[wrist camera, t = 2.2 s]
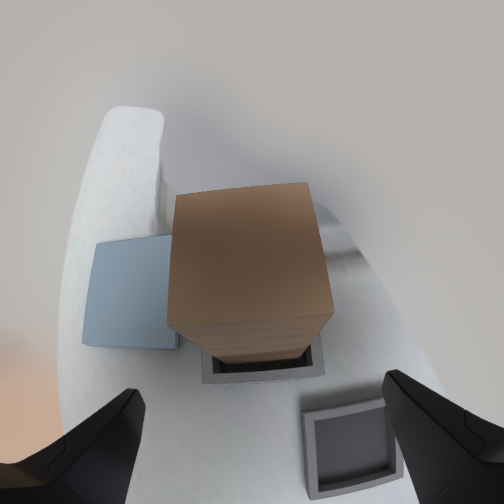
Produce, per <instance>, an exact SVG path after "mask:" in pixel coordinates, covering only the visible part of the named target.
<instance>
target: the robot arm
mask: <svg viewBox="0 0 504 504" xmlns="http://www.w3.org/2000/svg"><path fill="white" fill-rule="evenodd" d="M382 393H383V397H384V401H385V404H386V408H387V412H388V415H389V419H390V423H391V426H392V429H393V431H394V434H395V437H396V439H397V442H398V444H399V447H400V450H401V452H402V455H403V457H404V460H405V463H406V466H407V468H408V471H409V474H410V477H411V480H412V483H413V486H414V488H415V491H416V494H417V497H418V500H419V504H504V428H503V427H500V426H498V425H495V424H493V423H491V422H488V421H486V420H484V419H481V418H480V417H478V416H476V415H474V414H472V413H470V412H469V411H467V410H464V409H463V408H462V407H460V406H458V405H457V404H455V403H453V402H451V401H450V400H448V399H446V398H445V397H443V396H441V395H439V394H438V393H436V392H434V391H433V390H431V389H429V388H428V387H426V386H424V385H423V384H421V383H419V382H417V381H416V380H414V379H412V378H411V377H409V376H408V375H406V374H404V373H403V372H401V371H399V370H397V369H395V370H390V371H387V372H386V374H385V378H384V382H383V385H382ZM145 409H146V407H145V403H144V401H143V398H142V396H141V394H140V392H139V391H138V390H137V389H131V388H128V389H126V390H125V391H123V392H122V393H121V394H119V395H118V396H117V397H115V398H114V399H113V400H111V401H110V402H109V403H107V404H106V405H105V406H103V407H102V408H101V409H99V410H98V411H97V412H95V413H94V414H93V415H91V416H90V417H89V418H87V419H86V420H84V421H83V422H82V423H80V424H79V425H78V426H76V427H75V428H73V429H72V430H71V431H69V432H68V433H67V434H66V435H64V436H62V437H61V438H59V439H58V440H57V441H55V442H54V443H52V444H51V445H49V446H47V447H46V448H44V449H42V450H41V451H39V452H37V453H35V454H33V455H31V456H29V457H27V458H26V459H24V460H22V461H20V462H17V463H13V464H5V463H0V504H125V501H126V496H127V492H128V488H129V484H130V480H131V476H132V472H133V468H134V464H135V460H136V456H137V453H138V449H139V445H140V441H141V435H142V428H143V422H144V415H145Z"/></svg>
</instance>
